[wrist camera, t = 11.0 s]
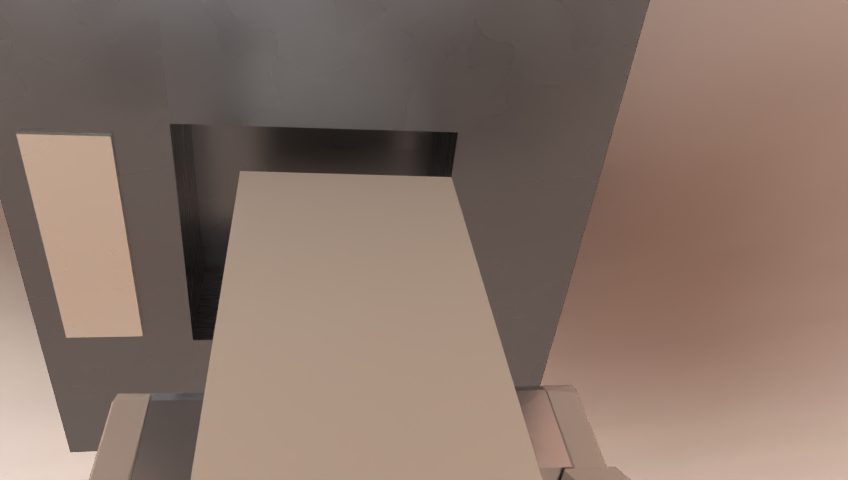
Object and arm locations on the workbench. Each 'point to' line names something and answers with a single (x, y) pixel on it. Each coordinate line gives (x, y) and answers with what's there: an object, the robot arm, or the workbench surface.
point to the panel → (284, 156)
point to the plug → (356, 339)
